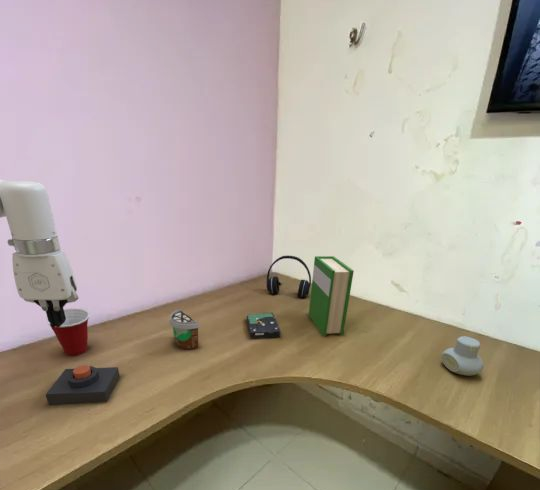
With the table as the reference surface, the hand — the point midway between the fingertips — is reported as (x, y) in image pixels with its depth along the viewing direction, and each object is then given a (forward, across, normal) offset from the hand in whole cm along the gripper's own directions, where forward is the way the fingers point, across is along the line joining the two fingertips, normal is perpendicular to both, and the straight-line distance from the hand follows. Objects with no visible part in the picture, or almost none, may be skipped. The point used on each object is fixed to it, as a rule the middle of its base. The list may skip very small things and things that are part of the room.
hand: (58, 324), depth 72 cm
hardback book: (+17, +75, +32) cm, 84 cm away
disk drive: (+18, +51, +30) cm, 62 cm away
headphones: (+17, +66, +62) cm, 92 cm away
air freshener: (+17, +108, +1) cm, 110 cm away
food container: (+18, +24, +20) cm, 36 cm away
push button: (+13, +3, -2) cm, 14 cm away
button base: (+18, +4, -2) cm, 18 cm away
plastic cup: (+18, -7, +17) cm, 26 cm away
